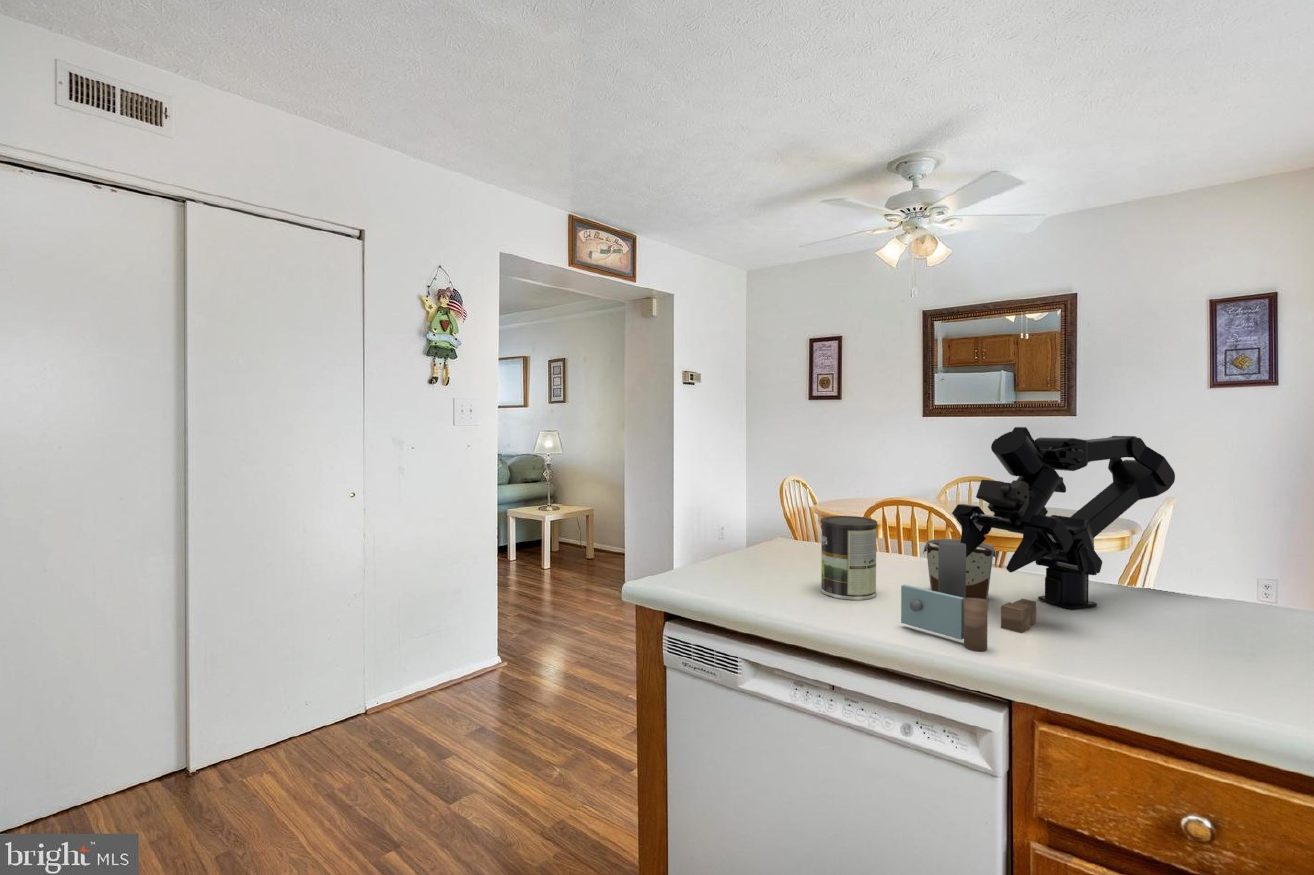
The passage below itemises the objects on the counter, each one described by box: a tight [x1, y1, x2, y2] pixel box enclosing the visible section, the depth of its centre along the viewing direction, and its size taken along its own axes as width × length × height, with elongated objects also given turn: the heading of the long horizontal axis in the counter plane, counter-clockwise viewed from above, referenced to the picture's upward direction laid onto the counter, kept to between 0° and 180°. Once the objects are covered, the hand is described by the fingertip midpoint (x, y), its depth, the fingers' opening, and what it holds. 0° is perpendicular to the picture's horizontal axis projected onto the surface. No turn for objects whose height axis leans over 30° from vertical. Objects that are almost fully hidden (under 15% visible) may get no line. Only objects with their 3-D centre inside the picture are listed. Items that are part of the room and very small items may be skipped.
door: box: [900, 584, 965, 641], centre depth 91 cm, size 10×2×6 cm, turn 37°
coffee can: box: [820, 515, 878, 601], centre depth 115 cm, size 10×10×14 cm
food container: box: [922, 538, 998, 602], centre depth 114 cm, size 12×6×10 cm, turn 71°
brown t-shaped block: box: [963, 598, 1037, 652], centre depth 92 cm, size 20×3×7 cm, turn 127°
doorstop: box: [938, 541, 966, 598], centre depth 97 cm, size 6×6×13 cm
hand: (983, 564), depth 99 cm, fingers open, 9 cm apart
